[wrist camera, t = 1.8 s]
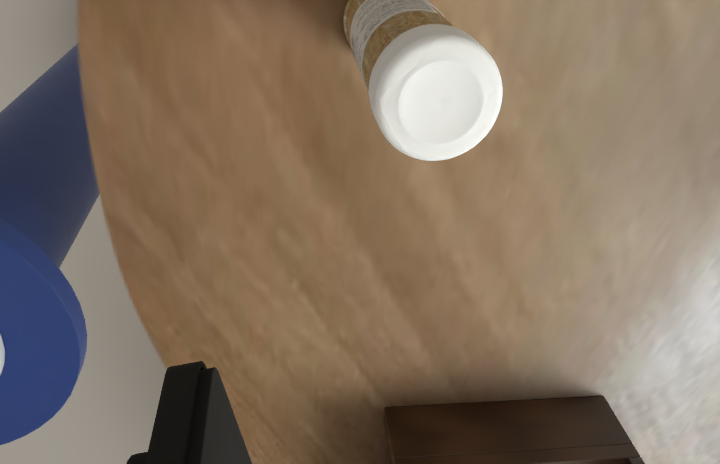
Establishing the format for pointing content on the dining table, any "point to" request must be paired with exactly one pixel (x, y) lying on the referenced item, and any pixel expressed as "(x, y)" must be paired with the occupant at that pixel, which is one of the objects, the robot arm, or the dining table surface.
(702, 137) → the dining table surface
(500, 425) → the shelf
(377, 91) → the sprinkles bottle
